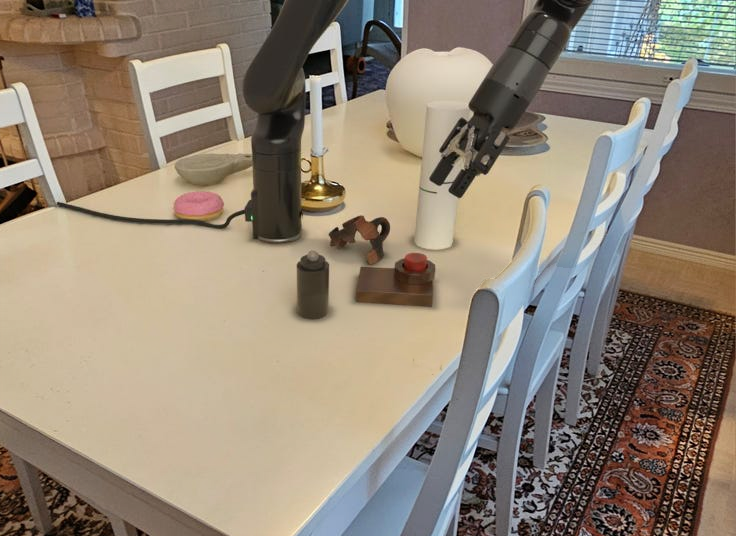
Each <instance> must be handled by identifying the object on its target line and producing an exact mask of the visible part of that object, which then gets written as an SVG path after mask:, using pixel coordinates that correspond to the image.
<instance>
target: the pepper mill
mask: <svg viewBox="0 0 736 536" xmlns="http://www.w3.org/2000/svg"><path fill="white" fill-rule="evenodd" d="M329 299H330V263H329V262H328V261H327V259H326V257H325V256H324V255H322V254H319V253H318V252H317V251H316V250H310V251H308V253H307V254H304V255H302V256H301V257H300V260H299V261H298V262H297V263H296V313H297V315H298V317H300V318H302V319H305V320H306V319H307V320H319V319H323V318H325V317H327V315H328V314H329V305H330V304H329V303H330V300H329Z"/></svg>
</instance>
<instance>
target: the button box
mask: <svg viewBox="0 0 736 536" xmlns="http://www.w3.org/2000/svg"><path fill="white" fill-rule="evenodd" d="M404 259H405V257H404V258H401V259H398V261H396V262H395V263H394V267H376V266H360V269H359V274H358V280H357V285H356V290H355V303H363V304H378V305H379V304H380V305H391V306H392V305H394V306H409V307H427V308H431V307H433V299H434V280H435V277H436V275H435V274H436V264H435V262H432V260H429V259H427V265H426V270H424V271H419V272H416V271H409V270H406V269H404Z"/></svg>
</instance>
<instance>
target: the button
mask: <svg viewBox="0 0 736 536" xmlns="http://www.w3.org/2000/svg"><path fill="white" fill-rule="evenodd" d="M404 258H405V259H404ZM404 258H403V259H404V269H406V270H409V271H416V272H419V271H424V270H426V265H427V260H428V256H427V255H425V254H424V253H420V252H410V253H407V254H405V255H404Z"/></svg>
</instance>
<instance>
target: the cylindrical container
mask: <svg viewBox="0 0 736 536" xmlns="http://www.w3.org/2000/svg"><path fill="white" fill-rule="evenodd" d="M469 112H470V109H469V107H468V103H465V102H460V101H436V102H431V103H429V104H427V111H426V121H425V131H424V142H423V152H422V157H421V164H420V173H419V185H418V196H417V205H416V215H415V216H416V217H415V227H414V236H413V243H414V244H415V245H416V246H418V247H420V248H423V249H427V250H444V249H447V248H451V246H453V242H454V236H455V235H454V234H455V227H456V220H457V219H456V218H457V212H458V203H459V198H457V197H456V196H454V195H452V194H451V193H449V191H448V190H449V188H450V186H451V185H452V183H453V182H454V180H455V178H456V177H457V175H458V174H459V172H460V171H461V169H463V167H464V158H461V159H460V160H459V161H458V162H457V163H456V164H455V165H453V166H454V167H453V169H452V170H451V172H450V173H449V175H448V176H447V178H446V179H445V181H444V183H443V184H442V185H441V186H438V185H436V184H434V183H433V182H431V181H430V180H429V178H430V176H431V174H432V173H433V171H434V170H435V168H436V166H437V165H438V163H439V162H440V160H441V159H442V158H441V154H442V153H440V152H439V150H440V148H441V146H442V145H443V143H444V142H445V140H446V139H447V137H448V136H449V134H450V133H451V131H452V130H453V128H454V127H455V125H456V123H457V122H458V120H459V119H460V118H461V117H462V118H464V119H465V120H467V121H468V120H469ZM449 146H450V144H449ZM449 146H448V147H449ZM456 155H457V154H456Z"/></svg>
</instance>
